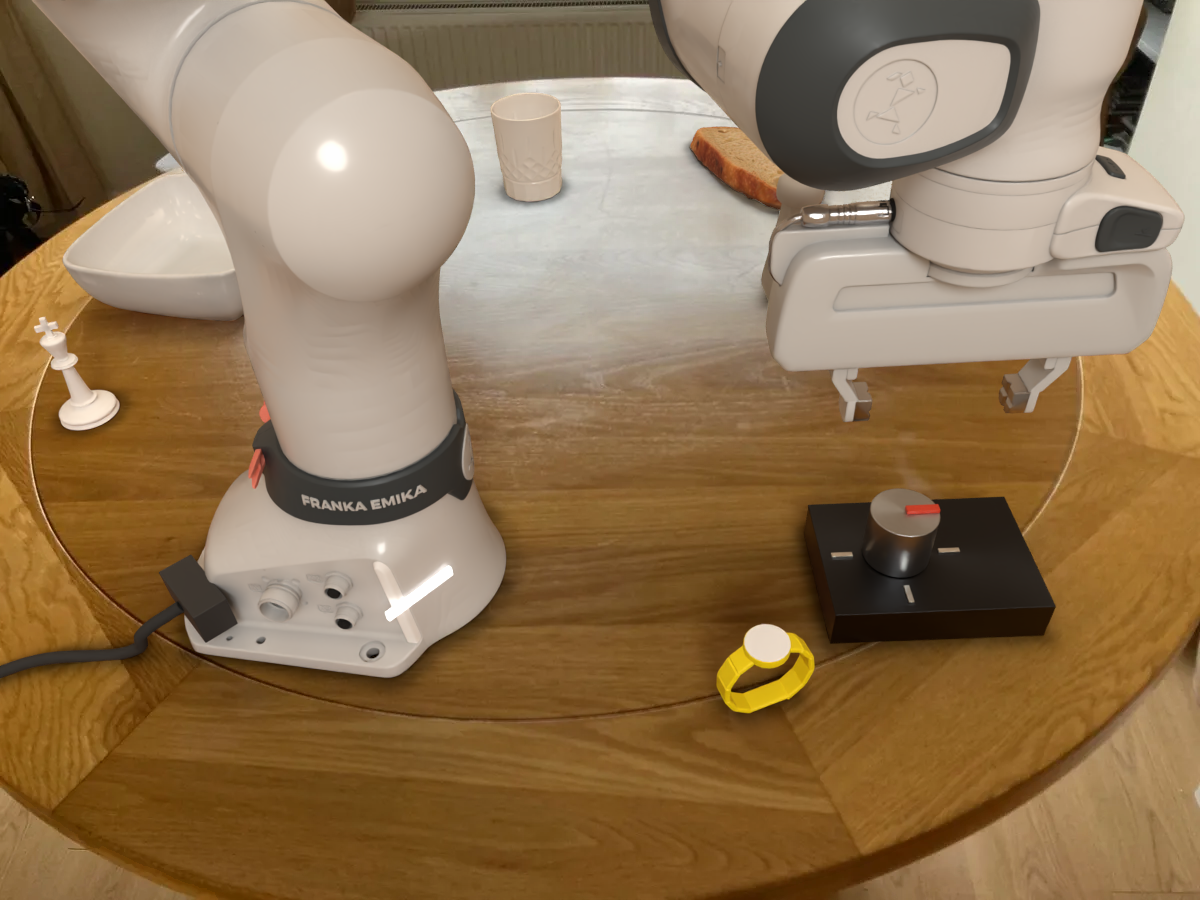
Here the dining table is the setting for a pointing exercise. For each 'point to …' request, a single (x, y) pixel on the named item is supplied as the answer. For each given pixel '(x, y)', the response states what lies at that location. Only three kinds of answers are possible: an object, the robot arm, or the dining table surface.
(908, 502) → the knob
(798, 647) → the watch
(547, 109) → the white cup
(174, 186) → the bowl
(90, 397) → the chess piece
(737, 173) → the bread slice
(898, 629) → the black dial panel
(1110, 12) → the robot arm
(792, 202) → the salt shaker
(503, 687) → the dining table surface
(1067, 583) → the dining table surface
